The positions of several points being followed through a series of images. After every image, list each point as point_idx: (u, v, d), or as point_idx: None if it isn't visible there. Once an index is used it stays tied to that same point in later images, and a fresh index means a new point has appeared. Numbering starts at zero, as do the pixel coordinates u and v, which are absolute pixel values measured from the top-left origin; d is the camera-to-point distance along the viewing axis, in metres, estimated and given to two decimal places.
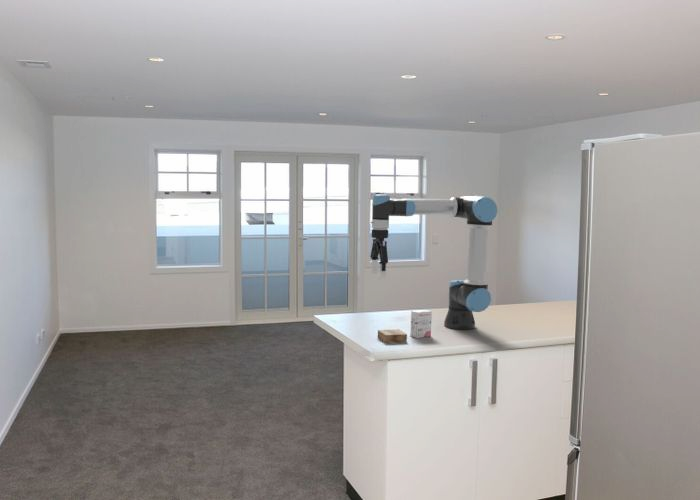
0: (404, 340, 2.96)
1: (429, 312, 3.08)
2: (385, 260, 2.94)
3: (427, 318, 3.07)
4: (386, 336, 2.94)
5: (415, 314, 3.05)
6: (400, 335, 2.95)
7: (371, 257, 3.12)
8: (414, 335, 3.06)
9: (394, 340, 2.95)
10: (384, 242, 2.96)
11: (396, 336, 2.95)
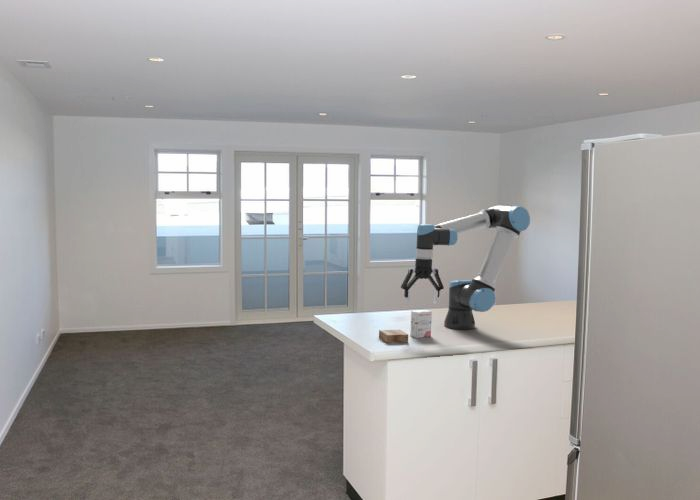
0: (405, 340, 2.96)
1: (429, 312, 3.08)
2: (402, 286, 3.04)
3: (427, 318, 3.07)
4: (387, 336, 2.93)
5: (415, 314, 3.05)
6: (401, 335, 2.95)
7: None
8: (414, 335, 3.06)
9: (396, 341, 2.95)
10: (409, 269, 3.04)
11: (397, 336, 2.95)
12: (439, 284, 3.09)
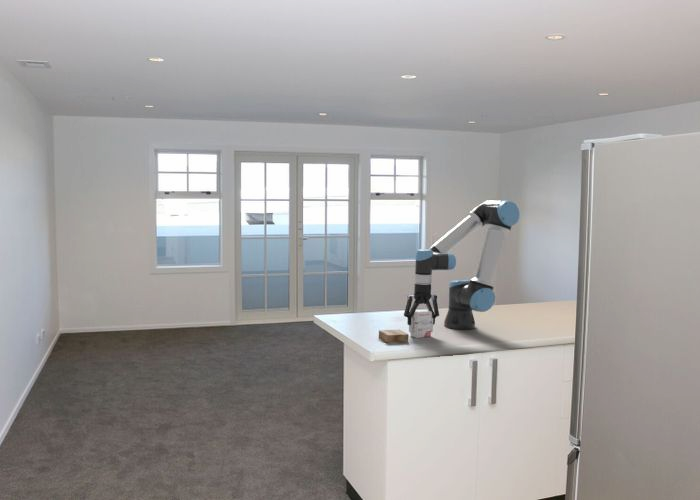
0: (406, 340, 2.96)
1: (429, 312, 3.08)
2: (405, 314, 3.06)
3: (427, 317, 3.07)
4: (388, 336, 2.93)
5: (415, 314, 3.05)
6: (402, 335, 2.95)
7: None
8: (414, 335, 3.06)
9: (396, 341, 2.95)
10: (408, 297, 3.05)
11: (398, 336, 2.95)
12: (435, 311, 3.10)
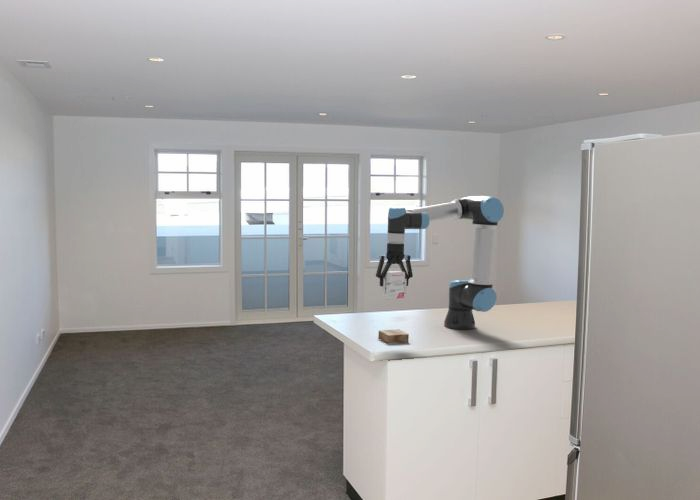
0: (406, 340, 2.96)
1: (402, 272, 2.96)
2: (377, 275, 2.95)
3: (400, 278, 2.96)
4: (388, 336, 2.93)
5: (387, 274, 2.94)
6: (402, 335, 2.95)
7: None
8: (386, 296, 2.95)
9: (396, 341, 2.95)
10: (380, 256, 2.94)
11: (398, 336, 2.95)
12: (409, 272, 2.98)
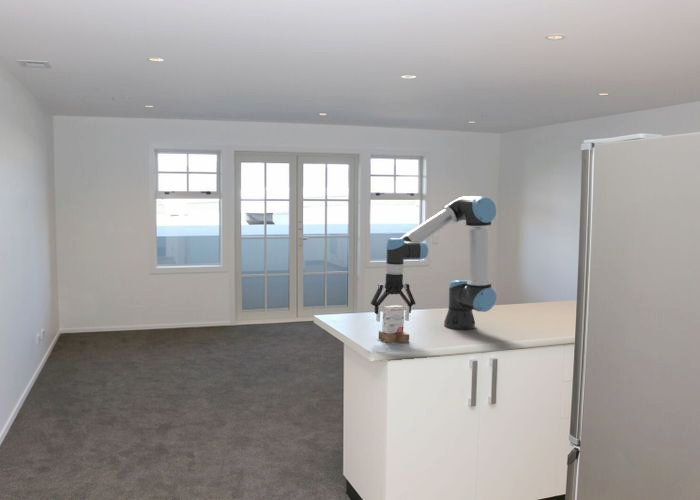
0: (407, 340, 2.96)
1: (401, 307, 2.98)
2: (372, 302, 2.95)
3: (399, 313, 2.98)
4: (389, 337, 2.93)
5: (386, 309, 2.96)
6: (403, 335, 2.95)
7: None
8: (386, 331, 2.97)
9: (397, 341, 2.95)
10: (379, 285, 2.95)
11: (399, 337, 2.95)
12: (410, 299, 3.00)
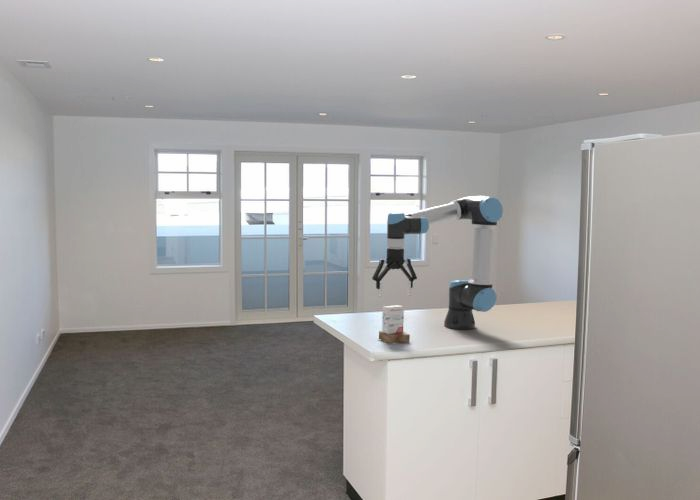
0: (407, 340, 2.96)
1: (401, 307, 2.98)
2: (373, 277, 2.94)
3: (399, 313, 2.98)
4: (390, 337, 2.93)
5: (386, 309, 2.96)
6: (403, 335, 2.95)
7: None
8: (385, 331, 2.97)
9: (398, 341, 2.94)
10: (380, 260, 2.94)
11: (399, 337, 2.95)
12: (412, 274, 2.99)
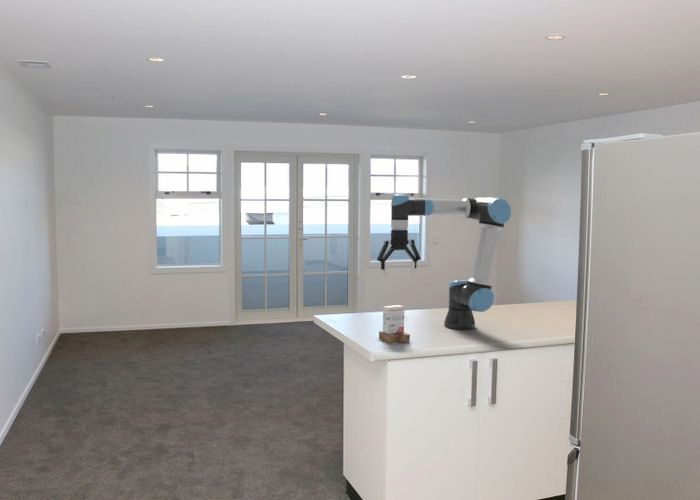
0: (407, 340, 2.96)
1: (401, 307, 2.98)
2: (378, 258, 2.99)
3: (400, 313, 2.97)
4: (390, 337, 2.93)
5: (386, 309, 2.95)
6: (403, 335, 2.95)
7: None
8: (386, 331, 2.97)
9: (398, 341, 2.94)
10: (385, 241, 2.99)
11: (400, 337, 2.95)
12: (416, 255, 3.04)
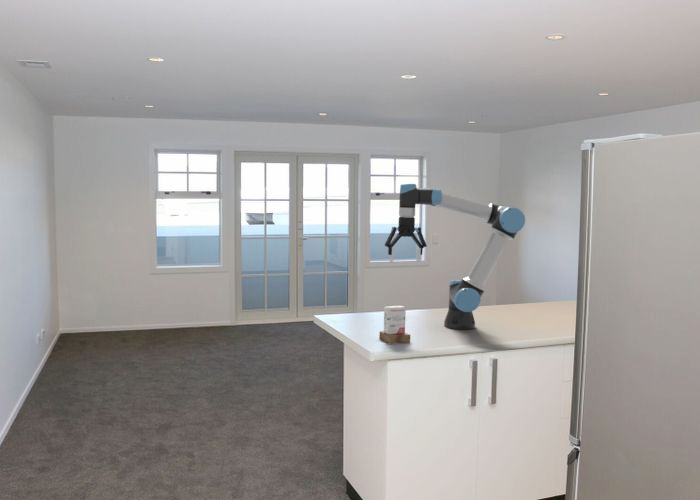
0: (408, 340, 2.96)
1: (402, 308, 2.97)
2: (385, 244, 3.13)
3: (401, 313, 2.97)
4: (391, 337, 2.92)
5: (387, 309, 2.95)
6: (404, 336, 2.95)
7: None
8: (386, 331, 2.96)
9: (398, 341, 2.94)
10: (393, 228, 3.13)
11: (400, 337, 2.94)
12: (422, 242, 3.18)
